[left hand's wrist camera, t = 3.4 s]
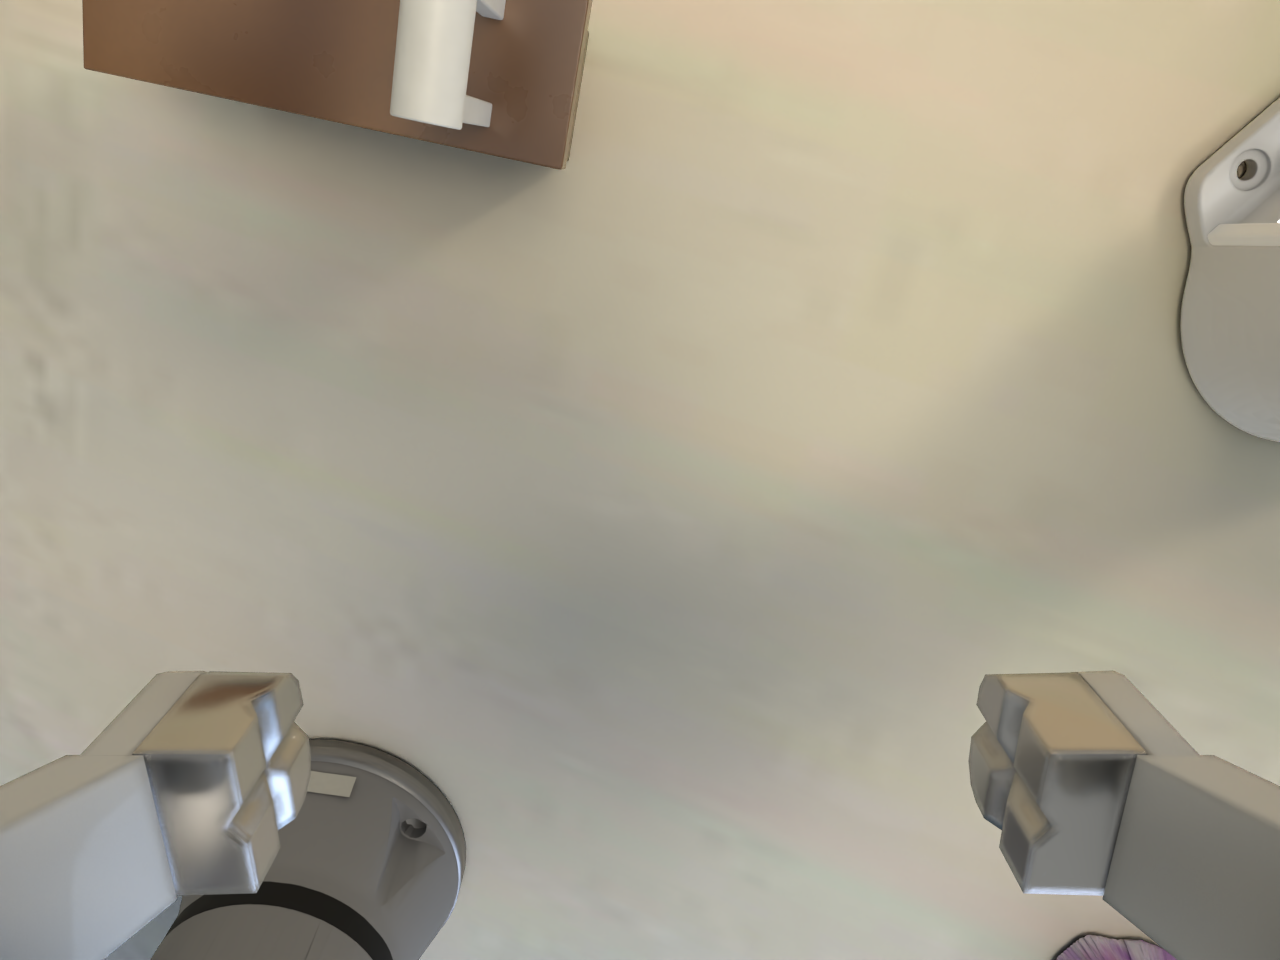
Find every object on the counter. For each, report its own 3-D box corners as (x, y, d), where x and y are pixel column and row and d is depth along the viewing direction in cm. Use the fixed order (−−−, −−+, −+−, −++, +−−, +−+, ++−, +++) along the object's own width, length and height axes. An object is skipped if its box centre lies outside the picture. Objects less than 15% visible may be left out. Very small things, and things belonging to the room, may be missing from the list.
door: (594, -10, 27) (569, -82, 19) (565, 169, 29) (531, 174, 20) (104, -119, 26) (-150, -247, 18) (106, 72, 28) (-123, 36, 19)
